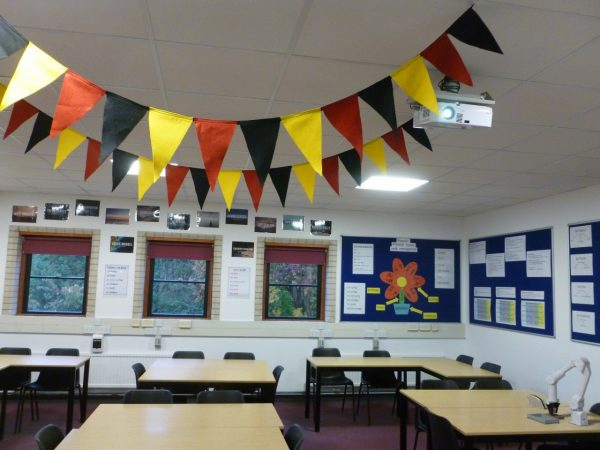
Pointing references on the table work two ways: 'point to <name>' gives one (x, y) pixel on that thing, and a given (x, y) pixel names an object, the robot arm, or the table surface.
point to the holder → (556, 416)
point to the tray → (543, 418)
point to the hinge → (536, 401)
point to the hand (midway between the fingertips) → (553, 413)
